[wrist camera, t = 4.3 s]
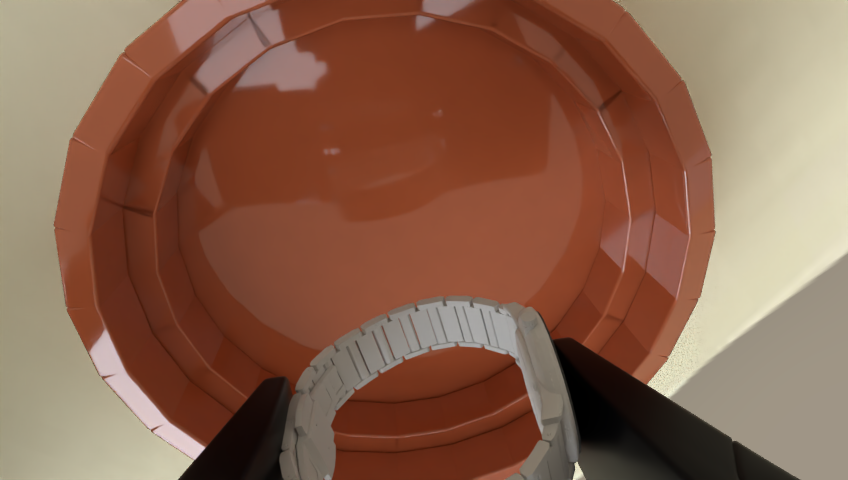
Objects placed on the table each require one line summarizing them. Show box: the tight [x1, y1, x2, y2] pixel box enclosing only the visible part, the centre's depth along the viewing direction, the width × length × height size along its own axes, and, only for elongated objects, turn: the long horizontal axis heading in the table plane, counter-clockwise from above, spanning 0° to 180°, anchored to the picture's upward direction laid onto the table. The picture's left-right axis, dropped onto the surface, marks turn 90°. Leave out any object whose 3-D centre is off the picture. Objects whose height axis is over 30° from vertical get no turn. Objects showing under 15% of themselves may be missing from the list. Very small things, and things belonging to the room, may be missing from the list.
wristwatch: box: [279, 296, 581, 480], centre depth 9 cm, size 3×5×5 cm, turn 105°
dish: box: [54, 0, 715, 480], centre depth 13 cm, size 15×15×4 cm
